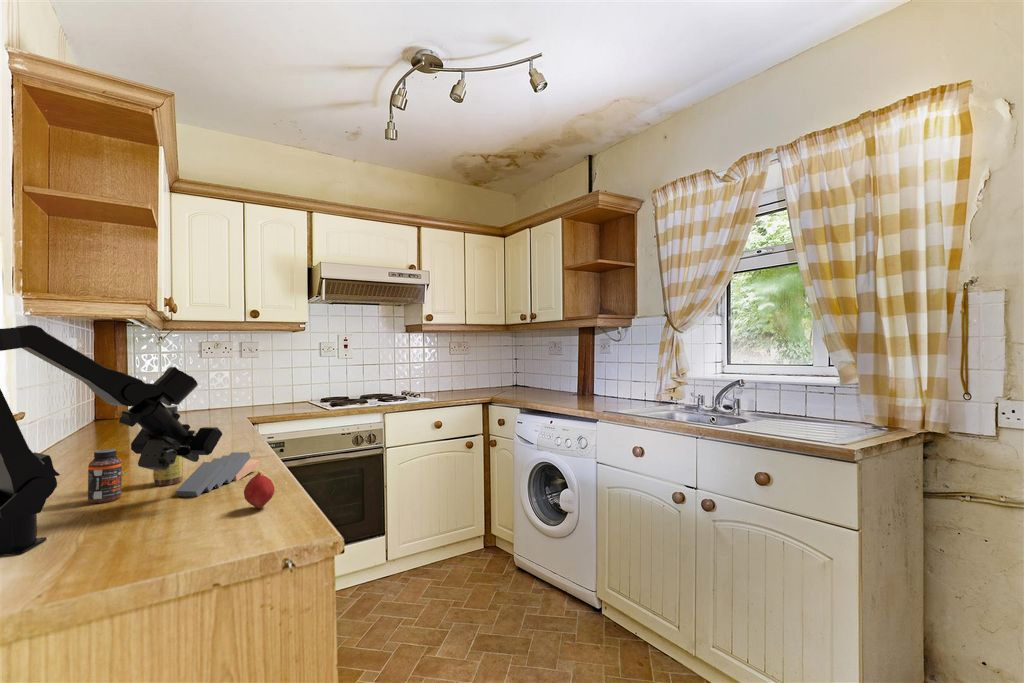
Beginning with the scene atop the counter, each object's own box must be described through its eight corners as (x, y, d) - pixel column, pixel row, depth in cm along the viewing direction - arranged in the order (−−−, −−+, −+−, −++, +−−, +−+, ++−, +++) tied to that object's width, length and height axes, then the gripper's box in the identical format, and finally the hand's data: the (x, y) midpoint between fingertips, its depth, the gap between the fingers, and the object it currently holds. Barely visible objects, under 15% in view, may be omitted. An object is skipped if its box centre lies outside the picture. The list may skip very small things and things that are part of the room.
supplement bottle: (102, 505, 109) (102, 453, 109) (80, 503, 110) (80, 452, 110) (128, 496, 115) (128, 448, 115) (107, 495, 116) (107, 447, 116)
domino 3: (217, 483, 121) (240, 455, 130) (198, 482, 122) (222, 455, 130) (219, 487, 122) (242, 460, 131) (200, 487, 122) (224, 460, 131)
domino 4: (227, 478, 125) (248, 452, 133) (208, 478, 125) (231, 452, 134) (229, 483, 125) (250, 457, 134) (210, 483, 126) (233, 456, 135)
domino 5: (236, 475, 128) (259, 460, 138) (218, 474, 128) (242, 459, 138) (236, 481, 128) (260, 465, 138) (218, 480, 129) (243, 465, 139)
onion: (237, 510, 105) (237, 472, 105) (262, 502, 110) (262, 466, 110) (255, 514, 102) (255, 475, 102) (280, 506, 107) (279, 469, 107)
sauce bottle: (156, 481, 128) (156, 404, 128) (185, 478, 131) (184, 403, 131) (150, 488, 122) (150, 407, 122) (180, 485, 125) (180, 406, 125)
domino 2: (207, 486, 118) (232, 458, 126) (187, 486, 118) (213, 458, 127) (209, 491, 118) (234, 463, 127) (190, 491, 119) (215, 463, 128)
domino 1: (195, 491, 114) (222, 462, 123) (175, 490, 115) (203, 461, 123) (198, 496, 115) (224, 467, 124) (178, 496, 115) (205, 466, 124)
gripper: (94, 452, 102) (140, 490, 113) (176, 454, 100) (215, 492, 111) (127, 409, 110) (168, 448, 121) (205, 410, 108) (239, 449, 119)
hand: (196, 460), depth 118 cm, fingers closed
